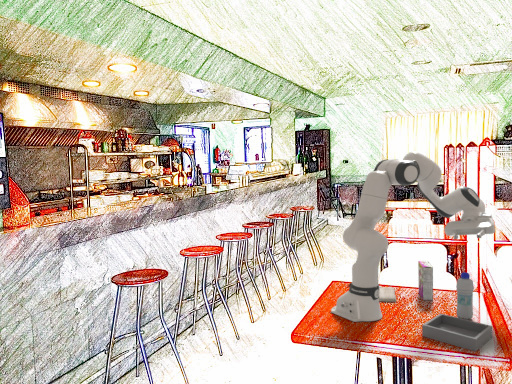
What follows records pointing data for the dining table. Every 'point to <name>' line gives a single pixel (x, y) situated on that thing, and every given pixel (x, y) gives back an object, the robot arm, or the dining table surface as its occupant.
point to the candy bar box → (425, 280)
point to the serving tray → (457, 331)
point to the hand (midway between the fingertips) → (466, 237)
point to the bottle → (465, 297)
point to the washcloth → (387, 294)
